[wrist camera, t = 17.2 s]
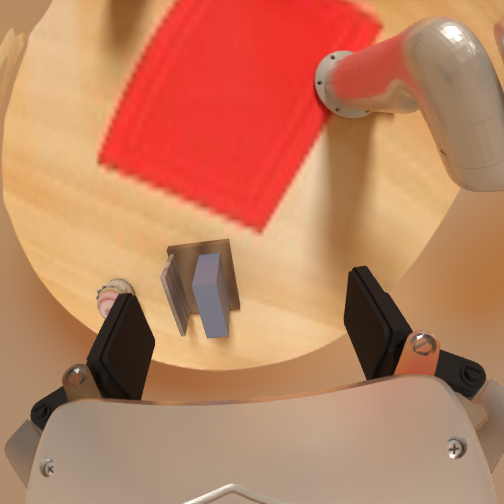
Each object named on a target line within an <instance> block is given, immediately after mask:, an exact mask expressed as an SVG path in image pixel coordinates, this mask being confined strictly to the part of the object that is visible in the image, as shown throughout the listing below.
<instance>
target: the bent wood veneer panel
mask: <svg viewBox="0 0 504 504" xmlns="http://www.w3.org/2000/svg"><path fill="white" fill-rule="evenodd" d="M167 253H168V257H169V258H168V260H167V263H166V265H165V267H164V270H163V272H162V275H161V277H160V279H161V282H162V285H163V288H164V290H165V293H166V296H167V299H168V302H169V305H170V308H171V310H172V313H173V316H174V318H175V321H176V324H177V326H178V329H179V332H180V334H181V336H185V335H186V330H187V324H188V319H189V314H191V313H199V310H198V306H197V303H196V299H195V296H194V292H193V289H192V283H193V279H194V274H195V270H196V266H197V262H198V258H199V255H205V254H214V253H220V256H221V262H222V267H223V272H224V277H225V282H226V287H227V292H228V297H229V302H230V304H229V310H235V309H240V301H239V295H238V289H237V284H236V278H235V272H234V266H233V260H232V255H231V249H230V243H229V239H223V240H215V241H207V242H199V243H191V244H184V245H176V246H168V248H167Z"/></svg>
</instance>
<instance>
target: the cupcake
mask: <svg viewBox="0 0 504 504" xmlns="http://www.w3.org/2000/svg"><path fill="white" fill-rule="evenodd" d="M97 293H98V296H97V297H96V299H97V301H98V302H97V306H98V309H99V311H100V314H101V316H102V317H103V318H104V319H106V317H107V315H108V313H109V311H110V309H111V307H112V305H113V303H114V302H115V300H116V298H117V296H118V294H121V293H132V294H133V296H134V290H133V288H132V286H131V285H130V284H129V283H128V282H127V281H125V280H122V279H114V280H112V281H111V282H109V283H108V284H106V285H103V287H102V288H101V289H99V290H97Z"/></svg>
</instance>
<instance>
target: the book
mask: <svg viewBox="0 0 504 504" xmlns="http://www.w3.org/2000/svg"><path fill="white" fill-rule="evenodd" d="M192 289H193V292H194V296H195V299H196V303H197V306H198V310H199V313H200V317H201V320H202V323H203V326H204V330H205V333H206V336H207V338H217V337H229V304H230V302H229V297H228V292H227V287H226V282H225V277H224V272H223V267H222V262H221V256H220V253H214V254H205V255H199V258H198V262H197V266H196V270H195V274H194V279H193V283H192Z"/></svg>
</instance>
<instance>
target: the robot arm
mask: <svg viewBox="0 0 504 504" xmlns="http://www.w3.org/2000/svg"><path fill="white" fill-rule="evenodd" d="M494 37H495V41H496V44H497V47H498V50H499V53H500V55H501V58H502V61H503V63H504V17H502V18H500V19H499V20H498V21H497V22H496V23H495V25H494ZM330 57H332V59H331V58H330ZM318 82H319V83H320V85H318ZM314 86H315V90H316V93H317V95H318V97H319V99H320V100H321V102H322V103H323V104H324V105H325V107H326V108H327V109H329V110H330V111H331V112H333V113H335V114H337V115H339V116H342V117H345V118H361V117H364V116H367V115H369V114H370V113H371V112H373V111H377V112H388V113H399V114H408V113H413V112H416V111H418V110H419V109H420V111H421V113H422V115H423V118H424V120H425V121H426V123H427V125H428V127H429V129H430V132H431V134H432V137H433V139H434V141H435V144H436V146H437V149H438V152H439V154H440V157H441V159H442V162H443V164H444V167H445V169H446V171H447V173H448V175H449V177H450V178H451V179H452V181H453V182H454V183H455V184H457V185H458V186H459V187H461V188H463V189H465V190H468V191H473V192H497V191H504V92H503V90H502V87H501V84H500V81H499V79H498V76H497V74H496V71H495V69H494V66H493V64H492V62H491V60H490V57H489V55H488V53H487V51H486V50H485V48H484V46H483V45H482V43H481V42H480V40H479V39H478V37H477V36H476V35H475V34H474V32H473V31H472V30H471V29H470V28H469V27H468V26H466V25H465V24H464V23H462V22H461V21H459V20H457V19H455V18H453V17H449V16H442V15H438V16H431V17H427V18H424V19H421V20H419V21H417V22H415V23H413V24H412V25H410V26H409V27H407V28H406V29H404V30H403V31H402V32H400V33H399V34H397V35H396V36H394V37H392V38H390V39H388V40H385V41H383V42H381V43H378V44H375V45H373V46H370V47H368V48H365V49H363V50H360V51H358V52H351V51H337V52H333V53H331V54H329V55H327V56H326V57H324V58H323V59H322V60H321V61H320V63H319V64H318V66H317V68H316V70H315V74H314ZM336 108H337V109H338V110H337V111H336ZM365 111H366V112H365ZM344 324H345V327H346V329H347V332H348V334H349V337H350V339H351V342H352V344H353V347H354V349H355V351H356V354H357V356H358V359H359V362H360V364H361V367H362V369H363V372H364V374H365V377H366V380H367V381H362V382H358V383H353V384H348V385H343V386H339V387H332V388H328V389H322V390H316V391H310V392H304V393H298V394H290V395H282V396H274V397H265V398H255V399H243V400H227V401H200V402H167V401H142V400H141V397H142V393H143V389H144V385H145V381H146V377H147V372H148V369H149V365H150V361H151V358H152V354H153V350H154V347H155V338H154V336H153V334H152V332H151V329H150V327H149V325H148V323H147V321H146V318H145V316H144V314H143V311H142V309H141V307H140V304H139V302H138V300H137V298H136V296H133V294H132V293H121V294H118V296H117V298H116V300H115V302H114V303H113V305H112V307H111V309H110V311H109V313H108V315H107V317H106V319H105V321H104V323H103V325H102V327H101V329H100V331H99V333H98V336H97V338H96V340H95V342H94V344H93V346H92V348H91V351H90V353H89V355H88V357H87V364H86V365H85V364H75V365H73V366H71V367H70V368H69V369H67V370H66V371H65V373H64V375H63V378H62V383H63V386H62V387H60V388H59V389H57V390H56V391H54V392H53V393H51V394H49V395H48V396H46V397H45V398H43V399H42V400H40V401H38V402H37V403H36V404H35V405H34V406H33V408H32V410H31V420H30V421H29V420H28V419H27V420H26V421H25V422H24V423H23V424H22V425H21V427H20V428H19V429H18V430H17V431H16V432H15V433H14V434H13V435H12V436H11V438H10V439H9V440H8V441H7V443H6V445H5V454H6V457H7V458H8V460H9V462H10V463H11V465H12V467H13V468H14V470H15V472H16V473H17V475H18V476H19V478H20V479H21V481H22V482H23V484H24V485H25V486H26V488H27V495H26V503H25V504H498V502H497V497H496V493H495V489H494V485H493V481H492V477H491V473H492V472H493V470H494V468H495V467H496V465H497V463H498V462H499V460H500V458H501V456H502V455H503V453H504V387H503V386H501V385H500V384H498V383H497V382H496V381H494V380H493V379H490V380H487V379H486V374H485V371H484V369H483V368H482V366H480V365H479V364H478V363H475V362H474V361H471V360H468V359H465V358H463V357H459V356H457V355H454V354H451V353H449V352H446V351H443V350H440V343H439V340H438V339H437V338H436V336H434V335H433V334H432V333H430V332H427V331H415V332H413V331H412V329H411V328H410V326H409V324H408V323H407V321H406V320H405V318H404V316H403V315H402V313H401V312H400V310H399V309H398V307H397V306H396V304H395V303H394V301H393V300H392V298H391V297H390V295H389V294H388V293H386V292H384V291H383V289H382V288H381V286H380V285H379V283H378V282H377V280H376V279H375V277H374V276H373V275H372V273H371V272H370V270H369V269H368V267H367V266H360V267H354V268H353V269H352V271H350V272H349V275H348V285H347V295H346V303H345V312H344Z"/></svg>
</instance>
